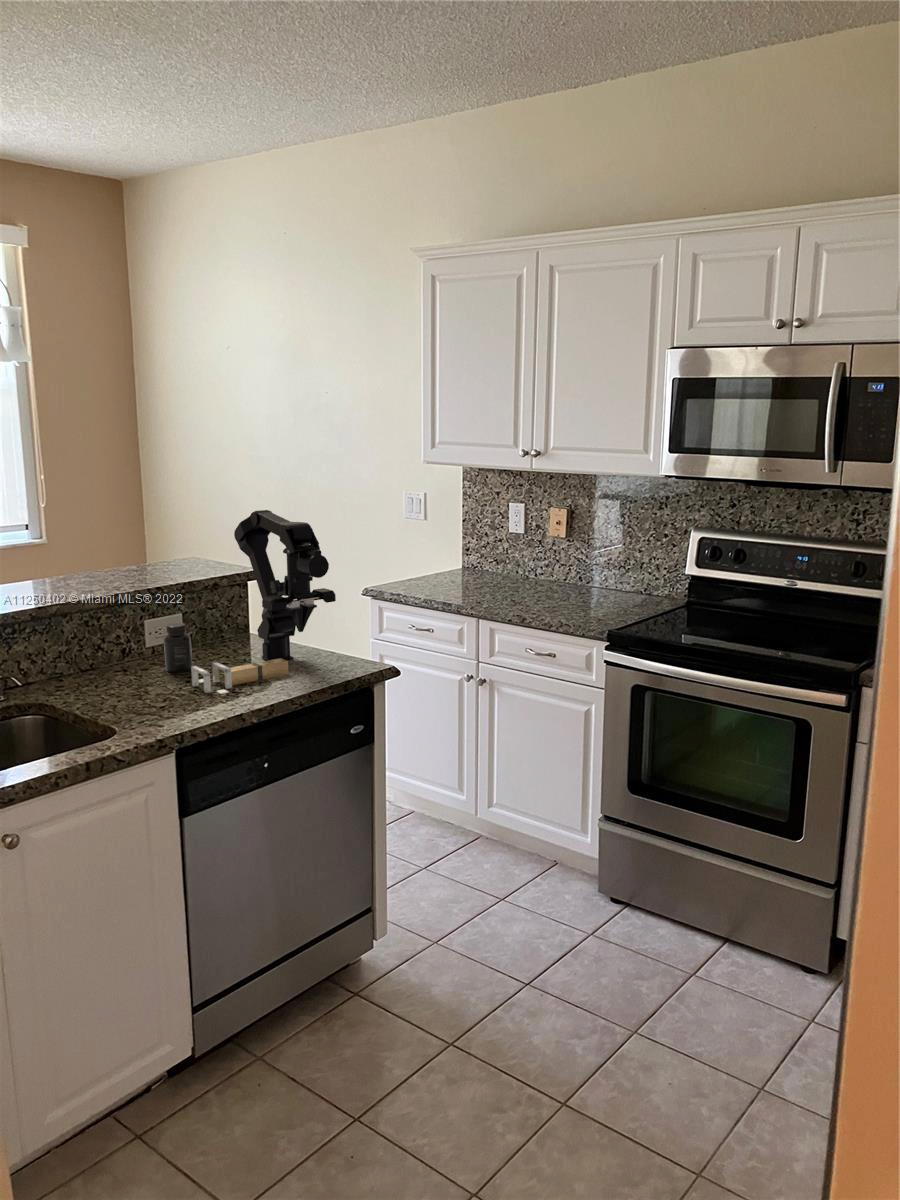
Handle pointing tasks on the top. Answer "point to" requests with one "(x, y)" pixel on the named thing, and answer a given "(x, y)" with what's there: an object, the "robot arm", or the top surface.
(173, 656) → the supplement bottle
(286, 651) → the robot arm
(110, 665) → the top surface
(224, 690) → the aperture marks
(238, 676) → the banded wooden block
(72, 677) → the top surface
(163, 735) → the top surface
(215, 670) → the collar
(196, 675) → the collar
